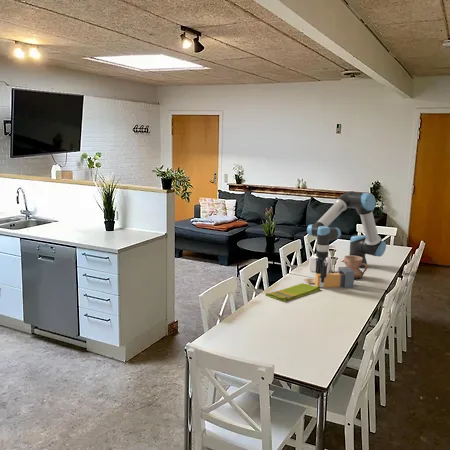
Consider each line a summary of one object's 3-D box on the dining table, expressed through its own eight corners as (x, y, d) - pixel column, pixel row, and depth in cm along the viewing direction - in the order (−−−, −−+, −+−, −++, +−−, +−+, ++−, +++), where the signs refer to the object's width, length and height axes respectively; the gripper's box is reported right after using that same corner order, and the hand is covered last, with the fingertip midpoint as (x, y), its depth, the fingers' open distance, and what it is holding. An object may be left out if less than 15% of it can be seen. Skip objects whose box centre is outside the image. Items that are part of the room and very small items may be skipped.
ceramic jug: (336, 277, 319) (338, 257, 316) (341, 272, 332) (343, 253, 329) (363, 282, 311) (365, 262, 308) (367, 276, 324) (369, 257, 321)
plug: (340, 284, 304) (341, 272, 302) (343, 286, 299) (344, 274, 298) (314, 285, 300) (315, 273, 299) (317, 287, 296) (318, 275, 294)
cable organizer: (333, 271, 334) (334, 256, 332) (328, 275, 325) (329, 259, 323) (313, 268, 342) (314, 253, 339) (307, 271, 333) (308, 255, 331)
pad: (331, 278, 316) (331, 277, 316) (337, 283, 306) (337, 282, 306) (303, 279, 312) (303, 278, 312) (309, 284, 302) (309, 283, 302)
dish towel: (264, 296, 278) (264, 291, 277) (301, 285, 302) (301, 280, 301) (284, 303, 267) (284, 298, 266) (321, 291, 291) (321, 286, 290)
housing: (345, 282, 308) (347, 265, 306) (353, 287, 298) (354, 270, 296) (337, 283, 307) (338, 266, 304) (344, 288, 296) (345, 270, 294)
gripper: (311, 247, 302) (309, 282, 306) (322, 254, 285) (319, 290, 289) (322, 247, 303) (320, 281, 307) (333, 253, 287) (331, 289, 291)
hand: (320, 285), depth 298 cm, fingers closed on plug, 4 cm apart
